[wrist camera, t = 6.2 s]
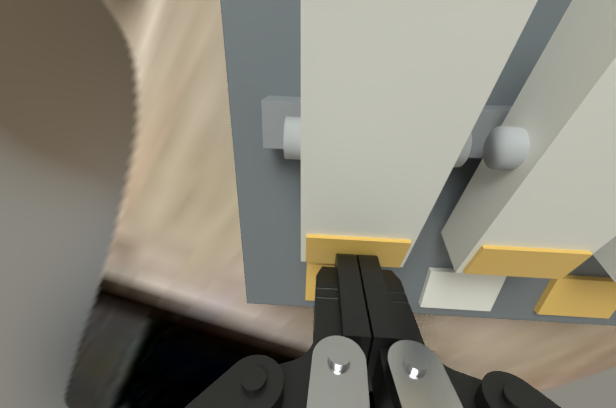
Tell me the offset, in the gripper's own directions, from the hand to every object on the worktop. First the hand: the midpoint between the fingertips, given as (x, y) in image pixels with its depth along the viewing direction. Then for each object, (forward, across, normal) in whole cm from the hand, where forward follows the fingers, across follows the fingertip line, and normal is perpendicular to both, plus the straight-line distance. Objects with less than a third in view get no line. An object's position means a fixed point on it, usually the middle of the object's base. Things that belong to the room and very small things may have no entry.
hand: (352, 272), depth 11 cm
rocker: (+1, 0, -5) cm, 5 cm away
